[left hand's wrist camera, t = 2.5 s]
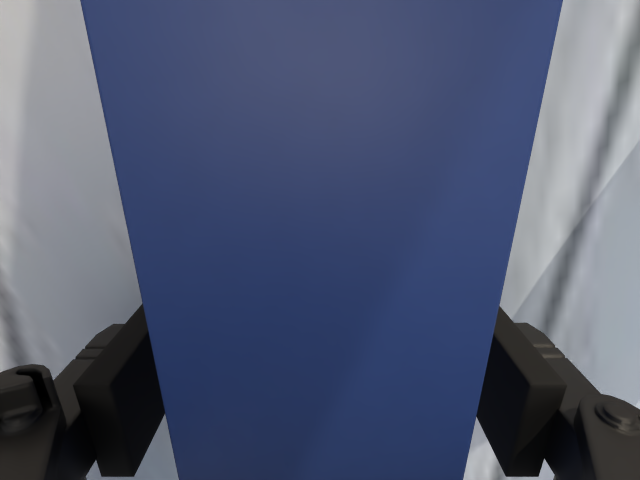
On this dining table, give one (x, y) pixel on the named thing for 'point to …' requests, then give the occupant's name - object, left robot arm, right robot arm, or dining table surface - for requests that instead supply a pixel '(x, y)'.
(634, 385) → the dining table surface
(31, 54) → the dining table surface
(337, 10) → the bar
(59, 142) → the dining table surface
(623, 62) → the dining table surface
